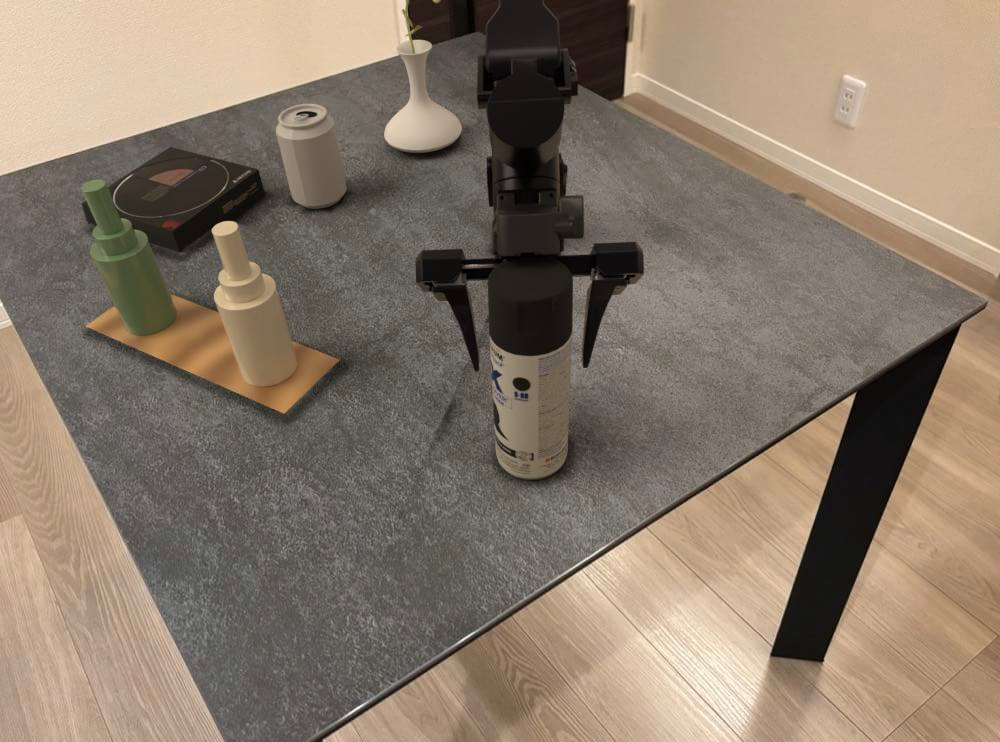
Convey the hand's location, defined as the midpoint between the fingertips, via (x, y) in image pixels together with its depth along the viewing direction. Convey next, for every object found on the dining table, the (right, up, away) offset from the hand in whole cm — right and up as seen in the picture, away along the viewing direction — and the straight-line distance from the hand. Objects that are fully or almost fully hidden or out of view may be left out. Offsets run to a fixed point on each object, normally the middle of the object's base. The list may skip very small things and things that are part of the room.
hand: (530, 369), depth 70 cm
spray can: (+1, -8, +7) cm, 10 cm away
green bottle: (-41, +7, +24) cm, 48 cm away
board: (-34, +3, +21) cm, 40 cm away
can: (-25, +25, +42) cm, 55 cm away
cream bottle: (-26, +1, +16) cm, 31 cm away
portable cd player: (-44, +23, +42) cm, 66 cm away
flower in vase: (-11, +36, +52) cm, 64 cm away
